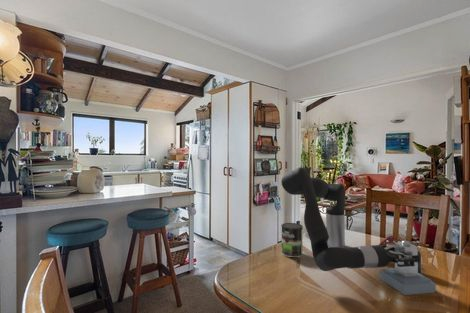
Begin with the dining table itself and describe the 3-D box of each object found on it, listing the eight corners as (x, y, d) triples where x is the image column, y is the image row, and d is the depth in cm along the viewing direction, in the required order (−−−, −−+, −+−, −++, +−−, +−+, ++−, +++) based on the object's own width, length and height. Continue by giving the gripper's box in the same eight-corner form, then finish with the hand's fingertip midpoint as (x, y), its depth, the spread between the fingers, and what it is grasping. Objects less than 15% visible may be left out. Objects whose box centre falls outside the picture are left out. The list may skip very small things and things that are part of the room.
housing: (405, 278, 90) (405, 244, 90) (393, 271, 96) (392, 239, 96) (419, 277, 91) (419, 243, 91) (406, 270, 97) (406, 238, 97)
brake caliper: (399, 249, 122) (404, 234, 115) (406, 271, 114) (413, 256, 107) (373, 247, 125) (377, 233, 118) (378, 268, 117) (383, 254, 110)
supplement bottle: (418, 270, 105) (417, 241, 105) (424, 277, 99) (424, 247, 99) (399, 268, 108) (398, 240, 108) (404, 275, 101) (403, 245, 101)
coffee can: (296, 259, 117) (296, 229, 117) (277, 254, 124) (277, 225, 124) (306, 253, 125) (306, 225, 125) (288, 248, 132) (288, 221, 132)
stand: (404, 295, 87) (404, 283, 87) (380, 278, 99) (380, 268, 99) (435, 292, 88) (435, 280, 88) (407, 276, 100) (407, 266, 100)
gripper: (384, 253, 85) (426, 250, 87) (358, 239, 99) (395, 237, 101) (384, 276, 85) (427, 272, 87) (358, 258, 99) (395, 256, 101)
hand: (410, 253), depth 94 cm, fingers open, 8 cm apart
